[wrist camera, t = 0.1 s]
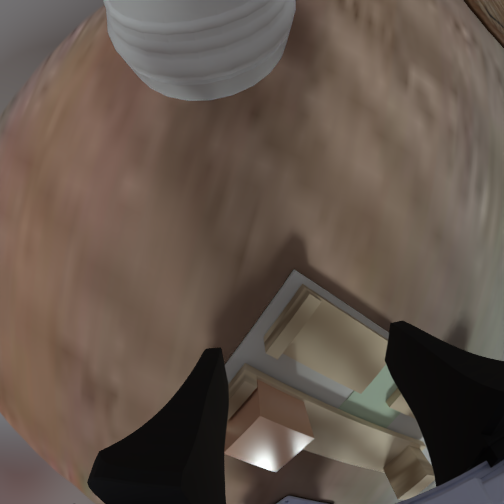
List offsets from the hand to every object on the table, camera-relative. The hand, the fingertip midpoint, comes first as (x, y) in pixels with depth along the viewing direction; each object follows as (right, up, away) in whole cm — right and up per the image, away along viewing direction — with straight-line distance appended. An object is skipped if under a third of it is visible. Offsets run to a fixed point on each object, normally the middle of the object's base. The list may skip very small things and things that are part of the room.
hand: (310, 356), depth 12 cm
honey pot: (-6, +22, +7) cm, 24 cm away
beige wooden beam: (+6, -13, +13) cm, 19 cm away
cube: (-1, -8, +10) cm, 13 cm away
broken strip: (+10, -6, +12) cm, 17 cm away
